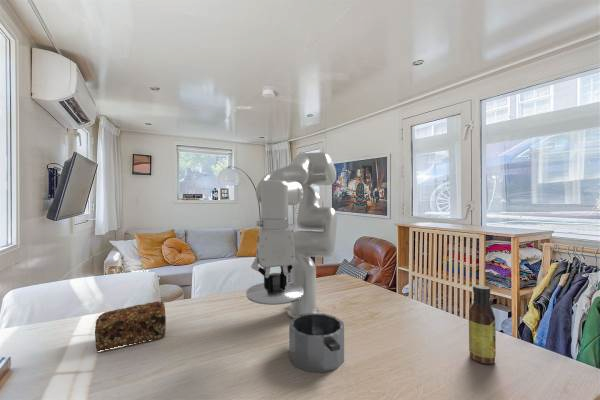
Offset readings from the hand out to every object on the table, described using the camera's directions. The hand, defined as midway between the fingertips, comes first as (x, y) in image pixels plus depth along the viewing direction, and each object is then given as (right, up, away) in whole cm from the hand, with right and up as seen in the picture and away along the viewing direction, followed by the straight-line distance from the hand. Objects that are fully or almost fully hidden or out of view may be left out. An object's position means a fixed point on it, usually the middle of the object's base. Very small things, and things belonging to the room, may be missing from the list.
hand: (275, 289), depth 81 cm
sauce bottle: (+57, -19, -1) cm, 60 cm away
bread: (-46, -19, +10) cm, 51 cm away
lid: (0, -1, 0) cm, 1 cm away
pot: (+12, -19, 0) cm, 22 cm away
